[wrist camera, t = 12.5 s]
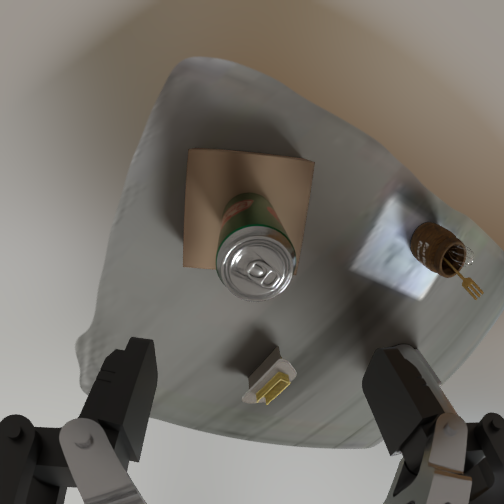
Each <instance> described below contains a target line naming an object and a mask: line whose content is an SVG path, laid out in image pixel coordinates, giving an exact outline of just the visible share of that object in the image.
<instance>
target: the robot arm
mask: <svg viewBox="0 0 504 504" xmlns="http://www.w3.org/2000/svg"><path fill="white" fill-rule="evenodd" d="M157 378H158V372H157V364H156V356H155V348H154V342H153V340H151V339H143V338H136V337H131V338H130V340H129V342H128V344H127V346H126V349H125V351H124V350H118V349H116V350H115V351H113V352H112V353H111V354H110V355H109V356H108V357H106V359H105V361H104V363H103V365H102V367H101V371H99V373H98V376H97V378H96V381H95V382H94V384H93V386H92V389H91V391H90V393H89V395H88V398H87V400H86V402H85V405H84V407H83V409H82V412H81V414H80V416H79V417H78V418H77V419H73V420H71V421H69V422H67V423H66V424H65V425H64V426H63V427H62V428H44V427H34V426H33V424H32V423H31V422H30V420H29V419H27V418H26V417H24V416H22V415H10V416H7V417H6V418H4V419H3V420H2V421H1V422H0V504H64V499H65V494H66V490H67V487H77V488H78V490H79V492H80V494H81V496H82V499H83V501H84V504H147V503H146V502H145V500H144V499H143V498H142V496H141V494H140V493H139V491H138V490H137V488H136V486H135V485H134V483H133V482H132V480H131V478H130V477H129V475H128V473H127V468H128V463H129V460H130V461H134V462H139V460H140V455H141V451H142V446H143V441H144V437H145V432H146V428H147V423H148V419H149V415H150V411H151V407H152V403H153V399H154V395H155V391H156V387H157ZM441 384H442V383H441V381H440V379H439V378H438V377H437V375H436V374H435V372H434V371H433V369H432V368H431V367H430V365H429V364H428V362H427V361H426V359H425V358H424V357H423V355H422V354H421V353H420V351H419V350H418V349H413V347H412V346H410V345H406V344H402V345H397V346H394V347H390V348H378V349H377V350H376V351H375V353H374V355H373V357H372V359H371V361H370V364H369V366H368V368H367V370H366V372H365V374H364V377H363V380H362V388H363V392H364V394H365V397H366V399H367V401H368V404H369V406H370V408H371V410H372V413H373V415H374V417H375V420H376V422H377V425H378V427H379V429H380V432H381V434H382V437H383V439H384V441H385V444H386V446H387V449H388V451H389V454H390V456H393V455H397V454H401V453H402V455H403V458H402V459H401V461H400V463H399V466H398V469H397V472H396V475H395V477H394V480H393V483H392V485H391V488H390V491H389V493H388V496H387V498H386V500H385V502H384V503H383V504H504V419H503V418H502V417H501V416H500V415H498V414H496V413H488V414H486V415H485V416H484V417H483V418H482V420H481V421H480V422H479V423H465V421H464V420H463V419H462V418H461V417H460V416H458V414H457V413H456V411H455V409H454V408H453V406H452V405H451V403H450V402H449V400H448V399H447V397H446V396H445V394H444V392H443V391H442V389H441V388H440V387H441Z"/></svg>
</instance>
